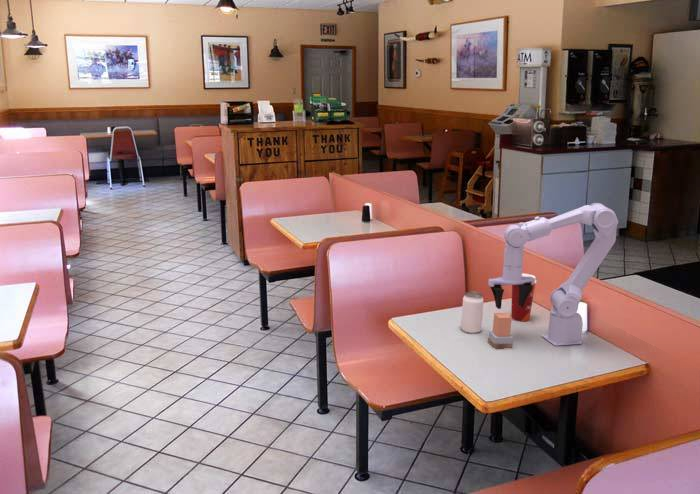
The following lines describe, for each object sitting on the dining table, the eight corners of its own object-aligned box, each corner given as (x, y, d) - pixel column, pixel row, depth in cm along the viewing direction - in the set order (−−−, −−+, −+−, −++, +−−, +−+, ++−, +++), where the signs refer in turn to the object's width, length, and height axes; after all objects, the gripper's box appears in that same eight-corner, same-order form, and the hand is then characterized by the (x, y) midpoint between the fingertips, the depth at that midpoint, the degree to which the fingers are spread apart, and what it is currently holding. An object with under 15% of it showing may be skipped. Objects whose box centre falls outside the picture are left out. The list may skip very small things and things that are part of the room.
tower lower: (503, 342, 197) (504, 336, 196) (512, 349, 191) (512, 343, 191) (487, 343, 195) (487, 337, 195) (495, 350, 190) (495, 344, 190)
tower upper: (505, 336, 196) (506, 330, 196) (512, 343, 191) (512, 337, 190) (488, 336, 196) (489, 330, 195) (494, 344, 190) (495, 337, 190)
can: (476, 335, 201) (479, 299, 198) (457, 330, 204) (460, 295, 201) (484, 329, 206) (486, 293, 203) (465, 324, 209) (467, 290, 206)
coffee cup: (535, 323, 212) (540, 280, 208) (510, 322, 212) (514, 279, 208) (529, 314, 220) (533, 272, 216) (505, 313, 220) (509, 272, 216)
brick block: (505, 331, 195) (506, 312, 193) (509, 336, 191) (511, 317, 190) (492, 331, 194) (494, 313, 193) (497, 336, 191) (498, 317, 189)
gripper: (528, 260, 198) (524, 301, 202) (485, 262, 195) (482, 304, 199) (539, 266, 192) (535, 308, 195) (495, 268, 189) (492, 311, 192)
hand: (509, 307), depth 196 cm, fingers open, 7 cm apart
